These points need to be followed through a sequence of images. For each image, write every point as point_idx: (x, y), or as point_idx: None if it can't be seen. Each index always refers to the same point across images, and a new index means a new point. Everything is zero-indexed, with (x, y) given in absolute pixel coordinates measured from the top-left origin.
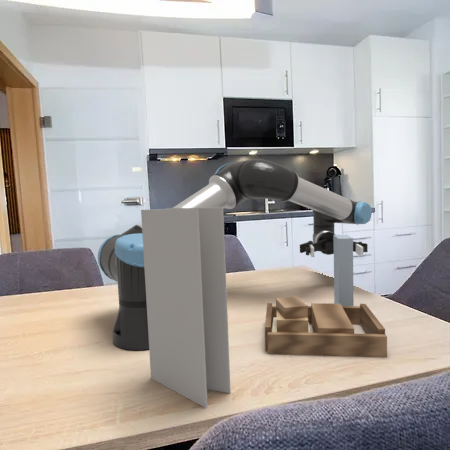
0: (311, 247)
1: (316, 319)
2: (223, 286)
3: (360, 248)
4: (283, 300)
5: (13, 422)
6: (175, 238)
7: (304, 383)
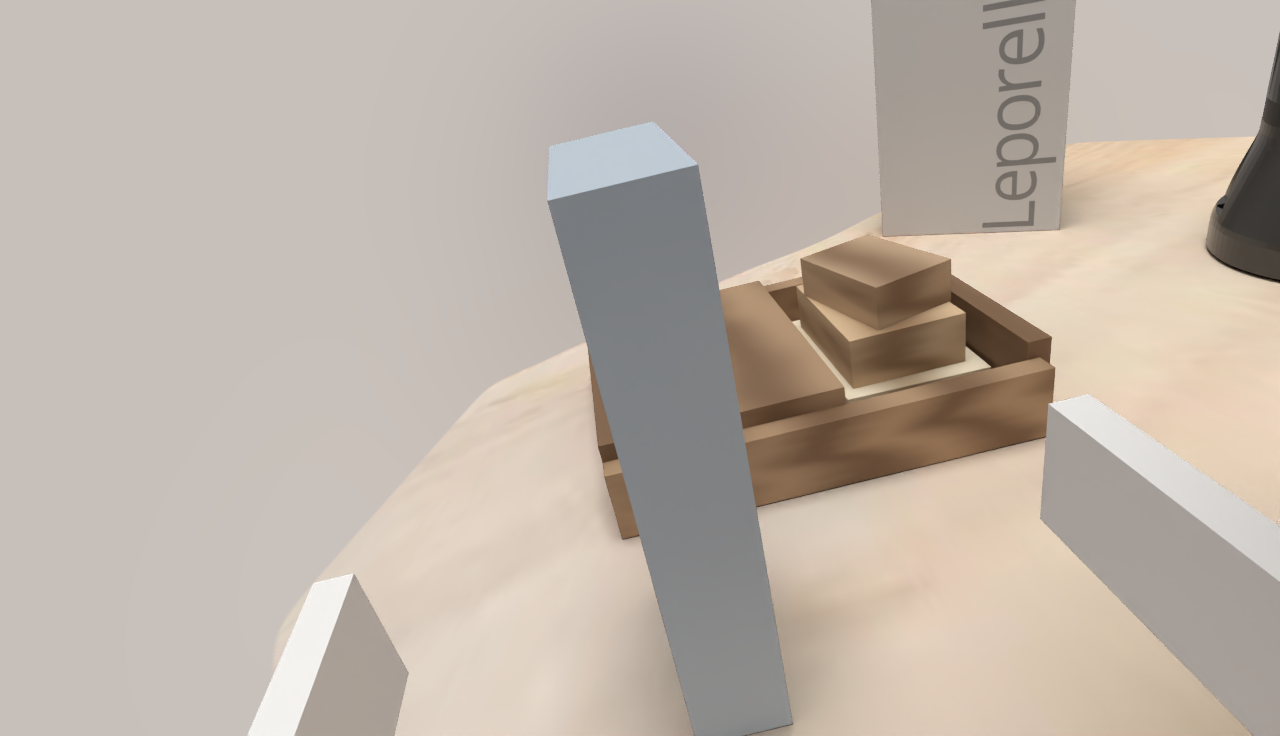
0: (1119, 418)
1: (776, 306)
2: (877, 31)
3: (360, 590)
4: (906, 257)
5: (1120, 143)
6: None
7: (770, 279)
